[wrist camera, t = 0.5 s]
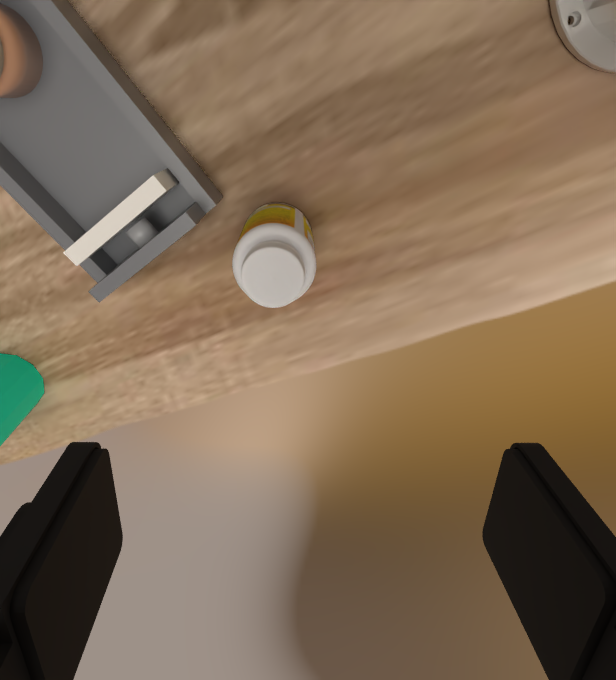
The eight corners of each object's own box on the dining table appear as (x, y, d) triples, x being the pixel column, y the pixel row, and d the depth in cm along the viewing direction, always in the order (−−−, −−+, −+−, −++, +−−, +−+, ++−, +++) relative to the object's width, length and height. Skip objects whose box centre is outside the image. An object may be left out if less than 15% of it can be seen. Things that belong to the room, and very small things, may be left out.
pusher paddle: (171, 165, 34) (153, 175, 30) (183, 179, 35) (166, 190, 30) (91, 234, 36) (63, 252, 32) (103, 246, 37) (76, 266, 32)
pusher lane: (9, -73, 29) (-70, -122, 23) (223, 196, 37) (208, 215, 30) (-97, 50, 32) (-194, 37, 26) (122, 277, 39) (89, 310, 33)
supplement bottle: (229, 237, 38) (207, 279, 29) (275, 185, 36) (268, 212, 27) (280, 283, 40) (275, 336, 31) (327, 235, 38) (336, 276, 29)
